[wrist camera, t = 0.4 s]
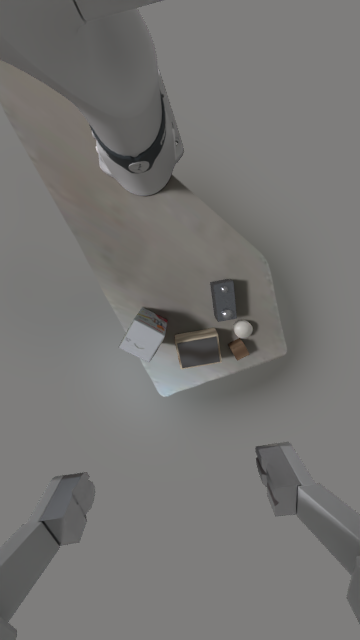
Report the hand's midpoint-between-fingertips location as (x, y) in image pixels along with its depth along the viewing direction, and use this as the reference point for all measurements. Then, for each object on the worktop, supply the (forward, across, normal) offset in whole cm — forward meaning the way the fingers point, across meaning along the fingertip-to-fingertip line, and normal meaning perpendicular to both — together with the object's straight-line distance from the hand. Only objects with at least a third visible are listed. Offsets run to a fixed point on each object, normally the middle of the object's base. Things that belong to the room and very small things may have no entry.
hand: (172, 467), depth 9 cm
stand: (+45, -4, +17) cm, 48 cm away
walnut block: (+45, -16, +20) cm, 51 cm away
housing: (+45, -12, +4) cm, 47 cm away
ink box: (+45, +10, +8) cm, 46 cm away
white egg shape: (+45, -18, +14) cm, 50 cm away
